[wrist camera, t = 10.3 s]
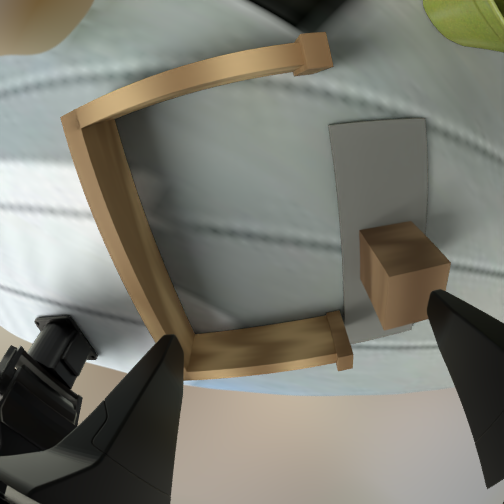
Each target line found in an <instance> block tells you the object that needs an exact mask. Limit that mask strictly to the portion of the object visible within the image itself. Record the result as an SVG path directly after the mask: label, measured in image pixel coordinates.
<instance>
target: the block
mask: <svg viewBox="0 0 504 504" xmlns="http://www.w3.org/2000/svg"><path fill="white" fill-rule="evenodd" d="M359 240H360V280H361V282H362V284H363V286H364V288H365V290H366V292H367V294H368V296H369V298H370V301H371V303H372V305H373V307H374V309H375V312H376V314H377V316H378V318H379V321H380V323H381V325H382V327H383V330H384V331H385V330H389V329H393V328H397V327H400V326H404V325H408V324H412V323H415V322H419V321H422V320H426V319H429V318H428V316H427V305H428V301H429V296H430V293H431V292H432V291H434V290H438V289H442V290H444V291H445V290H446V285H447V281H448V275H449V270H450V265H451V262H450V261H449V260H448V259H447V258H446V257H445V256H444V254H443V253H442V252H441V251H440V250H439V249H438V248H437V247H436V246H435V245H434V244H433V243H432V242H431V241H430V240H429V239H428V238H427V236H426V235H425V234H424V233H423V232H422V231H421V230H420V229H419V228H418V227H417V226H416V225H415V224H414V223H413V222H412V221H409V222H403V223H397V224H391V225H386V226H380V227H374V228H369V229H363V230H359Z"/></svg>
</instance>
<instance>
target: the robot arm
mask: <svg viewBox="0 0 504 504" xmlns="http://www.w3.org/2000/svg"><path fill="white" fill-rule="evenodd" d="M427 316H428V318H429V321H430V324H431V327H432V330H433V332H434V335H435V338H436V341H437V344H438V347H439V350H440V352H441V354H442V357H443V359H444V361H445V363H446V366H447V368H448V370H449V373H450V375H451V378H452V380H453V383H454V385H455V388H456V390H457V392H458V395H459V398H460V401H461V403H462V406H463V409H464V411H465V414H466V417H467V420H468V423H469V426H470V429H471V432H472V435H473V438H474V442H475V445H476V449H477V452H478V455H479V459H480V463H481V466H482V471H483V475H484V479H485V483H486V487H487V489H488V488H490V487H492V486H493V485H495V484H497V483H498V482H500V481H501V480H503V479H504V323H502V322H500V321H499V320H497V319H495V318H493V317H492V316H490V315H488V314H486V313H485V312H483V311H481V310H479V309H477V308H476V307H474V306H472V305H470V304H468V303H467V302H465V301H463V300H461V299H459V298H457V297H455V296H454V295H452V294H450V293H448V292H446V291H444V290H442V289H438V290H434V291H432V292H431V293H430V296H429V301H428V305H427ZM34 322H35V324H36V325H37V327H38V328H39V330H40V331H41V332H40V333H39V335H38V337H37V338H36V340H35V341H34V343H33V344H32V346H31V348H30V349H29V351H28V352H26V351H25V350H24V349H23V347H22V346H20V347H19V348H16V347H14V346H12V345H11V346H10V348H9V349H8V350H7V352H6V353H5V355H4V357H3V358H2V360H1V362H0V504H170V501H171V497H170V496H171V487H172V478H173V469H174V460H175V451H176V443H177V434H178V426H179V418H180V411H181V404H182V397H183V376H184V351H183V348H182V346H181V344H180V342H179V340H178V338H177V336H176V335H175V334H166V335H163V336H162V337H161V338H160V339H159V340H158V341H157V342H156V344H155V345H154V346H153V347H152V348H151V349H150V350H149V351H148V352H147V353H146V354H145V355H144V357H143V358H142V359H141V360H140V361H139V362H138V363H137V364H136V365H135V366H134V367H133V368H132V370H131V371H130V372H129V373H128V374H127V375H126V376H125V377H124V378H123V379H122V380H121V382H120V383H119V384H118V385H117V386H116V387H115V388H114V389H113V390H112V391H111V392H110V394H109V395H108V396H107V397H106V398H105V401H102V402H101V403H100V405H99V406H98V407H97V408H96V409H95V410H94V411H93V412H92V413H91V414H90V415H89V416H88V417H87V418H86V419H85V420H84V421H83V422H82V423H81V424H80V425H79V426H77V425H78V419H79V414H80V409H81V404H82V397H81V396H80V395H77V394H76V393H74V392H73V391H72V390H70V389H71V388H72V386H73V384H74V382H75V380H76V378H77V376H79V375H80V372H81V370H82V368H83V366H84V364H85V362H86V360H96V359H97V357H98V355H97V354H96V352H95V351H94V350H93V348H92V347H91V345H90V344H89V343H88V341H87V340H86V338H85V337H84V335H83V334H82V332H81V331H80V330H79V328H78V327H77V325H76V323H75V322H74V320H73V319H72V318H71V317H70V316H55V317H43V318H36V319H35V321H34ZM15 367H16V368H17V370H16V369H15ZM503 504H504V502H503Z"/></svg>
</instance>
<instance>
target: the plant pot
mask: <svg viewBox="0 0 504 504" xmlns="http://www.w3.org/2000/svg"><path fill="white" fill-rule="evenodd" d="M423 6H424V9H425V11H426V13H427V15H428V17H429V18H430V20H431V22H432V23H433V25H434V26H435V27H436V28H437V29H438V31H439V32H440V33H441V34H442V35H444V36H445V37H446V38H447V39H449V40H451V41H453V42H455V43H457V44H460V45H462V46H467V47H475V48H482V49H489V50H494V51H500V52H504V0H423Z"/></svg>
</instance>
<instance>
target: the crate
mask: <svg viewBox="0 0 504 504" xmlns="http://www.w3.org/2000/svg"><path fill="white" fill-rule="evenodd" d="M331 67H333V62H332V58H331V53H330V48H329V44H328V40H327V36H326V32H319V33H306V34H300V35H299V37H298V38H297V39H296V41H295V42H294V43H289V44H281V45H274V46H268V47H262V48H256V49H250V50H245V51H240V52H235V53H231V54H226V55H222V56H218V57H214V58H210V59H206V60H202V61H198V62H195V63H191V64H188V65H184V66H181V67H178V68H175V69H171V70H168V71H165V72H162V73H159V74H156V75H154V76H151V77H148V78H145V79H143V80H140V81H137V82H135V83H132V84H130V85H127V86H125V87H122V88H120V89H118V90H115V91H113V92H111V93H108V94H106V95H104V96H102V97H100V98H97V99H95V100H93V101H91V102H89V103H87V104H85V105H83V106H81V107H79V108H77V109H75V110H73V111H71V112H69V113H67V114H66V115H64V116H62V117H60V118H61V122H62V125H63V129H64V133H65V136H66V139H67V143H68V146H69V149H70V153H71V156H72V159H73V162H74V165H75V168H76V171H77V174H78V177H79V180H80V183H81V185H82V188H83V191H84V194H85V196H86V199H87V202H88V204H89V207H90V209H91V212H92V214H93V217H94V219H95V222H96V224H97V227H98V229H99V231H100V234H101V236H102V238H103V241H104V243H105V245H106V248H107V250H108V252H109V254H110V256H111V259H112V261H113V263H114V265H115V267H116V269H117V271H118V273H119V275H120V277H121V280H122V282H123V284H124V286H125V288H126V290H127V291H128V293H129V295H130V297H131V299H132V301H133V303H134V305H135V307H136V309H137V311H138V312H139V314H140V316H141V318H142V320H143V322H144V323H145V325H146V327H147V329H148V330H149V332H150V334H151V336H152V337H153V339H154V341H155V342H157V341H158V340H159V339H160V338H161V337H162V336H163V335H166V334H175V335H176V336H177V338H178V340H179V342H180V344H181V346H182V348H183V351H184V376H183V381H186V380H205V379H220V378H232V377H242V376H252V375H260V374H269V373H276V372H283V371H290V370H297V369H303V368H309V367H315V366H321V365H326V364H331V363H336V365H337V369H338V371H342V370H347V369H351V368H353V352H352V348H351V345H350V342H349V338H348V335H347V332H346V329H345V326H344V322H343V319H342V316H341V313H340V310H338V311H333V312H328V313H326V315H325V316H320V317H314V318H309V319H303V320H297V321H291V322H285V323H279V324H272V325H266V326H259V327H252V328H244V329H237V330H229V331H221V332H212V333H203V334H195V333H194V331H193V329H192V327H191V325H190V323H189V320H188V318H187V316H186V314H185V312H184V309H183V307H182V305H181V303H180V300H179V298H178V296H177V294H176V291H175V289H174V287H173V284H172V282H171V280H170V277H169V275H168V272H167V270H166V267H165V265H164V263H163V260H162V258H161V255H160V253H159V250H158V247H157V245H156V242H155V240H154V237H153V235H152V232H151V229H150V227H149V224H148V221H147V218H146V216H145V213H144V210H143V207H142V205H141V202H140V199H139V196H138V193H137V190H136V187H135V184H134V181H133V178H132V175H131V172H130V169H129V166H128V163H127V159H126V156H125V153H124V150H123V146H122V143H121V140H120V136H119V133H118V129H117V126H116V122H115V119H116V118H119V117H121V116H124V115H126V114H129V113H132V112H134V111H137V110H140V109H143V108H145V107H148V106H151V105H154V104H157V103H160V102H163V101H166V100H169V99H173V98H176V97H179V96H182V95H186V94H189V93H193V92H197V91H200V90H204V89H208V88H212V87H216V86H220V85H224V84H229V83H233V82H238V81H243V80H248V79H253V78H258V77H264V76H269V75H276V74H282V73H289V72H293V74H294V76H300V75H309V74H314V73H317V72H320V71H322V70H325V69H328V68H331Z"/></svg>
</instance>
